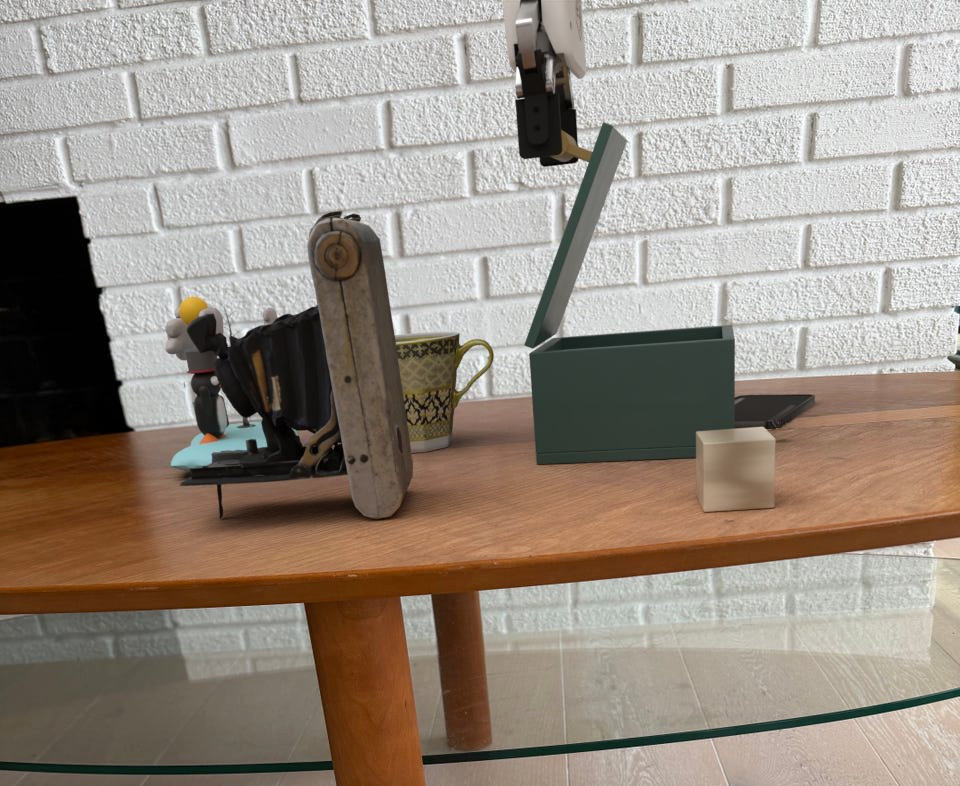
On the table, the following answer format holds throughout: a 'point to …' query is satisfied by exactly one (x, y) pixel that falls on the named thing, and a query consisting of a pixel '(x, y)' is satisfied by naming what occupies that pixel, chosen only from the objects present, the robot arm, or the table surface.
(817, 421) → the table surface
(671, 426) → the chest
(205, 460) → the penguin figurine
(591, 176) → the lid
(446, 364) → the ceramic cup
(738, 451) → the block
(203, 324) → the vintage camera
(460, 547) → the table surface
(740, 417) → the phone
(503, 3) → the robot arm
